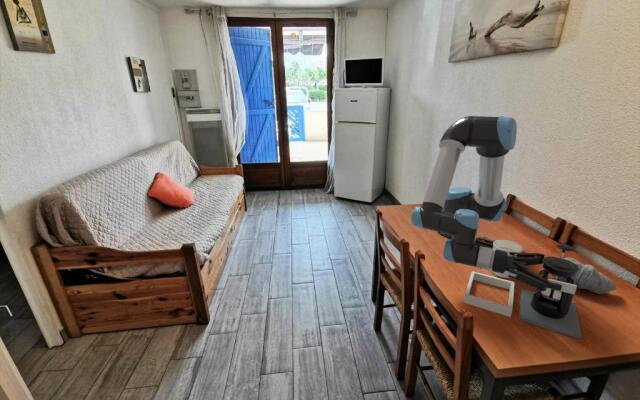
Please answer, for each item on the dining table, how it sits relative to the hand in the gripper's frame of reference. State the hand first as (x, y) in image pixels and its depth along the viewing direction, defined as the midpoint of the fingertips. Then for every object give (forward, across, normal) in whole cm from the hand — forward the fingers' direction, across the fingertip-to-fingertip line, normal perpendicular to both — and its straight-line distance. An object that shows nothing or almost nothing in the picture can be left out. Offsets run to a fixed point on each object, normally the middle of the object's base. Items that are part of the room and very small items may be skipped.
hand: (571, 277), depth 92 cm
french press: (-3, 0, -14) cm, 14 cm away
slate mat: (-3, 0, -14) cm, 15 cm away
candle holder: (-17, -20, -15) cm, 30 cm away
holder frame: (-20, -1, -14) cm, 25 cm away
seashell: (+8, -23, -15) cm, 28 cm away
